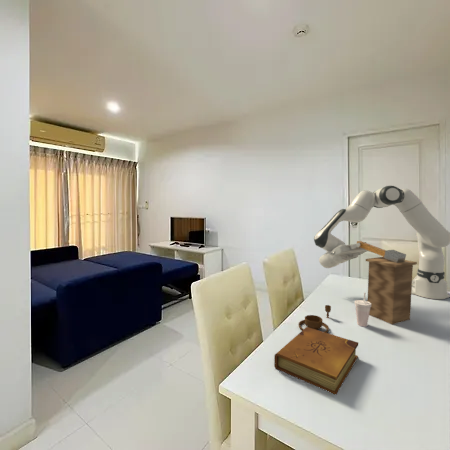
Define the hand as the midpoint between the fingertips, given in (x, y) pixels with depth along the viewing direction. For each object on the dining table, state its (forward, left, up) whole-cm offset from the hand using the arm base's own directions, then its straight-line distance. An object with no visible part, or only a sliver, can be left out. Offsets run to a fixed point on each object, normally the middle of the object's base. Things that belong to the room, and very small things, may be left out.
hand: (363, 243), depth 131 cm
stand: (+10, +10, -32) cm, 35 cm away
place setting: (+31, -18, -32) cm, 48 cm away
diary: (+58, -19, -32) cm, 69 cm away
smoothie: (+23, -2, -32) cm, 39 cm away
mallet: (+6, +6, -4) cm, 10 cm away
